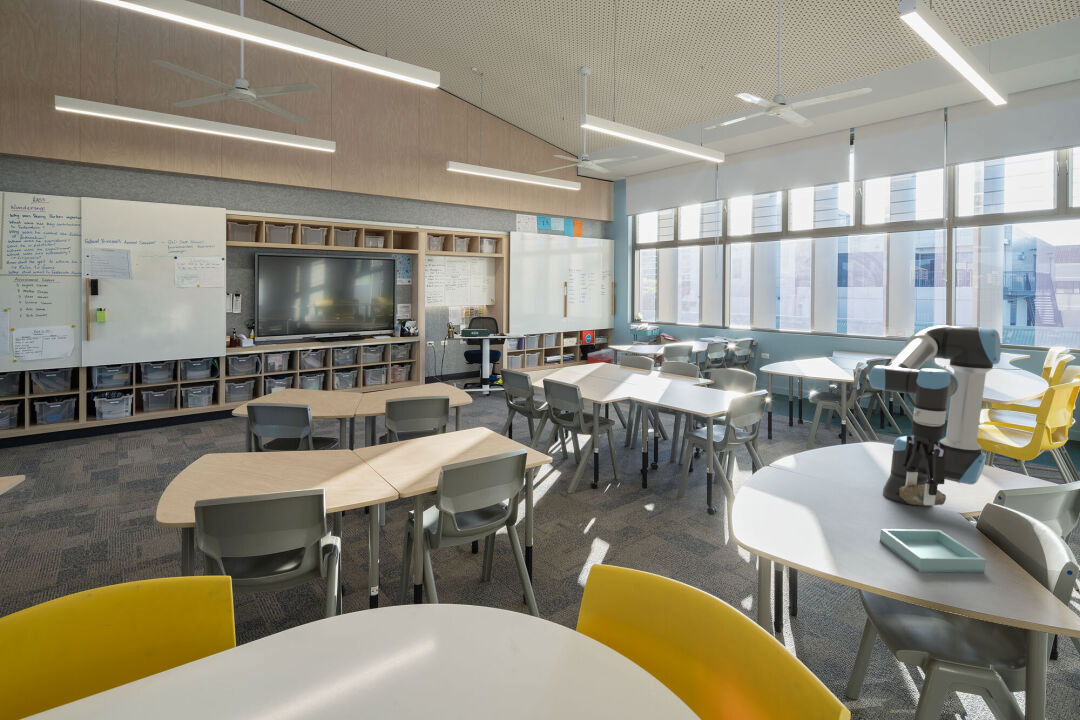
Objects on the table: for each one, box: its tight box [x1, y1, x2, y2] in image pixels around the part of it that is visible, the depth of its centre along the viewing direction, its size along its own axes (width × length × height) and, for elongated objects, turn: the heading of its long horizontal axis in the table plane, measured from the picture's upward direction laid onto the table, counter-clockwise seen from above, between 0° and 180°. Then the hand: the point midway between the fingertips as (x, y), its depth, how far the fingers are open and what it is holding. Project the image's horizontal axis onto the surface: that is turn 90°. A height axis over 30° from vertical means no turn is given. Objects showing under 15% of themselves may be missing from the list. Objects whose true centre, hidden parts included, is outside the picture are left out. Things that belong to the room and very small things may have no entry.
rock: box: [899, 484, 947, 506], centre depth 160 cm, size 8×11×4 cm
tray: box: [879, 528, 987, 574], centre depth 161 cm, size 18×18×4 cm
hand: (919, 498), depth 161 cm, fingers closed on rock, 8 cm apart
